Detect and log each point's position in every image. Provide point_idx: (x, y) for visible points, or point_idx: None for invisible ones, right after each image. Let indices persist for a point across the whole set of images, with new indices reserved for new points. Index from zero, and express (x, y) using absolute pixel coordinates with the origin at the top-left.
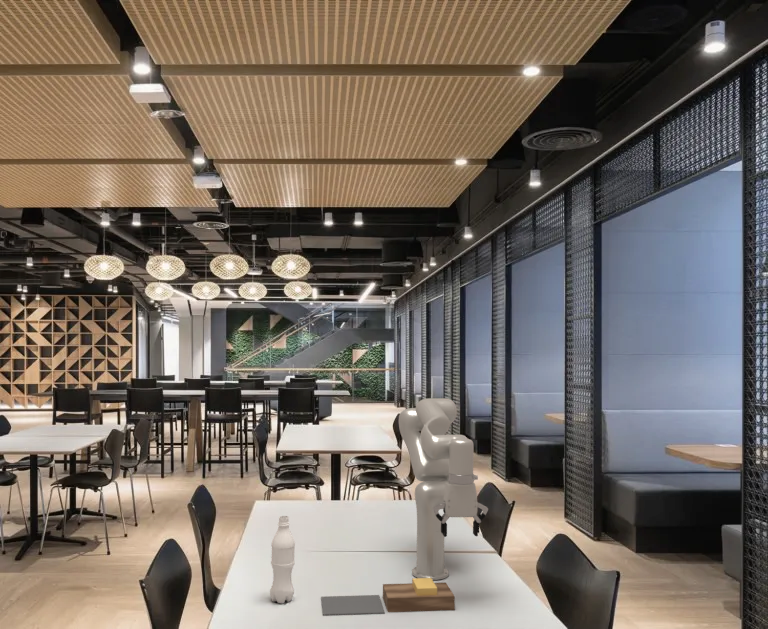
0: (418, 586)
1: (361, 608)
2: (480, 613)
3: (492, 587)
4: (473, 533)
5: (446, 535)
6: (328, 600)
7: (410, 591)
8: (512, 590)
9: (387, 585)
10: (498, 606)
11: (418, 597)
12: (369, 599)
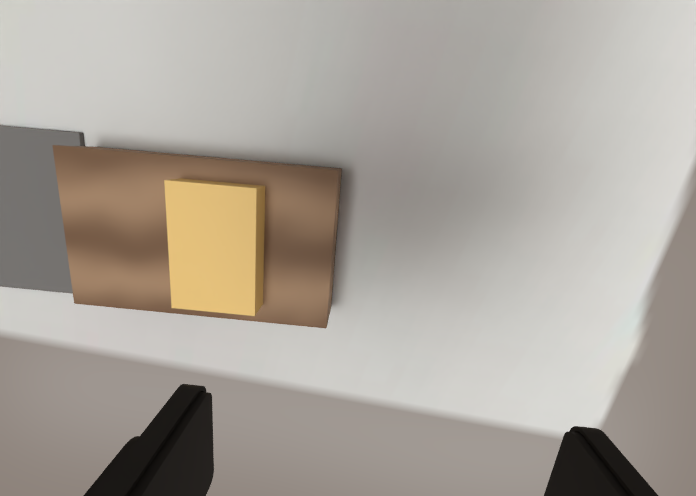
0: (179, 285)
1: (21, 252)
2: (405, 343)
3: (574, 106)
4: (563, 454)
5: (204, 489)
6: None
7: (164, 252)
8: (639, 157)
9: (72, 165)
10: (492, 302)
11: (188, 314)
12: (43, 174)
